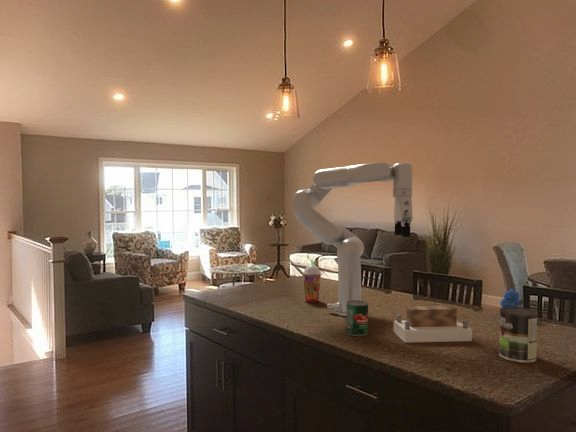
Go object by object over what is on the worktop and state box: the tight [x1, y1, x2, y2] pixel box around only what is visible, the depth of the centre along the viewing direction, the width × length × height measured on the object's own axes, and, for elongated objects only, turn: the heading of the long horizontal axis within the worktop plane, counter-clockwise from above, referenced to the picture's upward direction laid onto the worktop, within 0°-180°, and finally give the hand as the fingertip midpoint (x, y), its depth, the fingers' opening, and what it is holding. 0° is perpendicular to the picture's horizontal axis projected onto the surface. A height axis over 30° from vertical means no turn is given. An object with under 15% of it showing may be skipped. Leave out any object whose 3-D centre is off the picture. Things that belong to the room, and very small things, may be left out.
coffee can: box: [498, 306, 539, 364], centre depth 139 cm, size 10×10×14 cm
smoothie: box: [302, 258, 322, 303], centre depth 219 cm, size 8×8×20 cm
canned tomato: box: [345, 299, 369, 337], centre depth 165 cm, size 8×8×11 cm
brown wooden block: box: [406, 305, 458, 327], centre depth 161 cm, size 16×5×6 cm, turn 93°
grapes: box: [499, 288, 521, 310], centre depth 186 cm, size 12×7×12 cm, turn 121°
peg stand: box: [393, 314, 473, 343], centre depth 161 cm, size 23×13×6 cm, turn 94°
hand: (402, 235), depth 187 cm, fingers open, 9 cm apart
